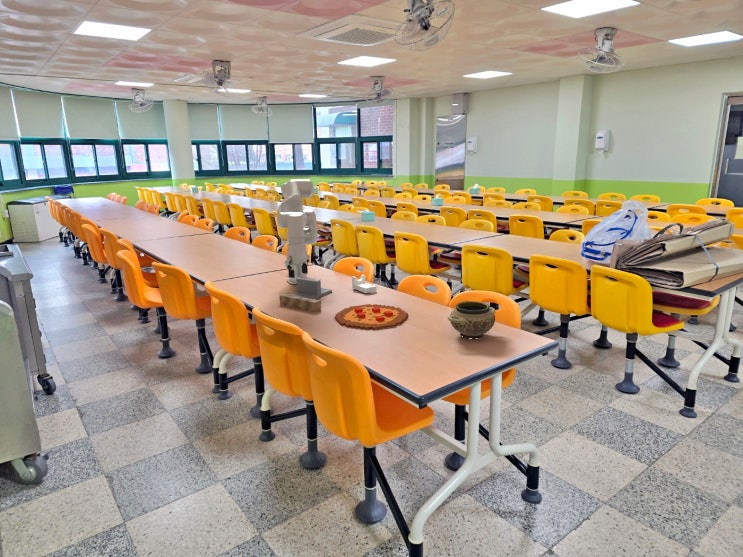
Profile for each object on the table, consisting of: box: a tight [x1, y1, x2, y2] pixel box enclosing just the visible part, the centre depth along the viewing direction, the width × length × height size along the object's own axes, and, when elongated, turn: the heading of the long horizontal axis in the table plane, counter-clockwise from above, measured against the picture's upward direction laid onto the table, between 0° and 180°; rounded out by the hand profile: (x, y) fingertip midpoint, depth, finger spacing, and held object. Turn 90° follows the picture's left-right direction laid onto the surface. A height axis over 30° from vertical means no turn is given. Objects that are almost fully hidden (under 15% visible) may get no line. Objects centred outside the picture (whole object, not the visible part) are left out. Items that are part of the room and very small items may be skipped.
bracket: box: [351, 274, 377, 294], centre depth 265 cm, size 13×7×8 cm, turn 35°
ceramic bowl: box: [447, 300, 496, 340], centre depth 195 cm, size 24×18×15 cm
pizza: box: [334, 303, 409, 331], centre depth 221 cm, size 32×32×3 cm
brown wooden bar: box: [278, 293, 322, 313], centre depth 238 cm, size 24×4×5 cm, turn 55°
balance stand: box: [289, 276, 333, 300], centre depth 257 cm, size 14×22×10 cm, turn 148°
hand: (298, 275), depth 234 cm, fingers open, 9 cm apart
